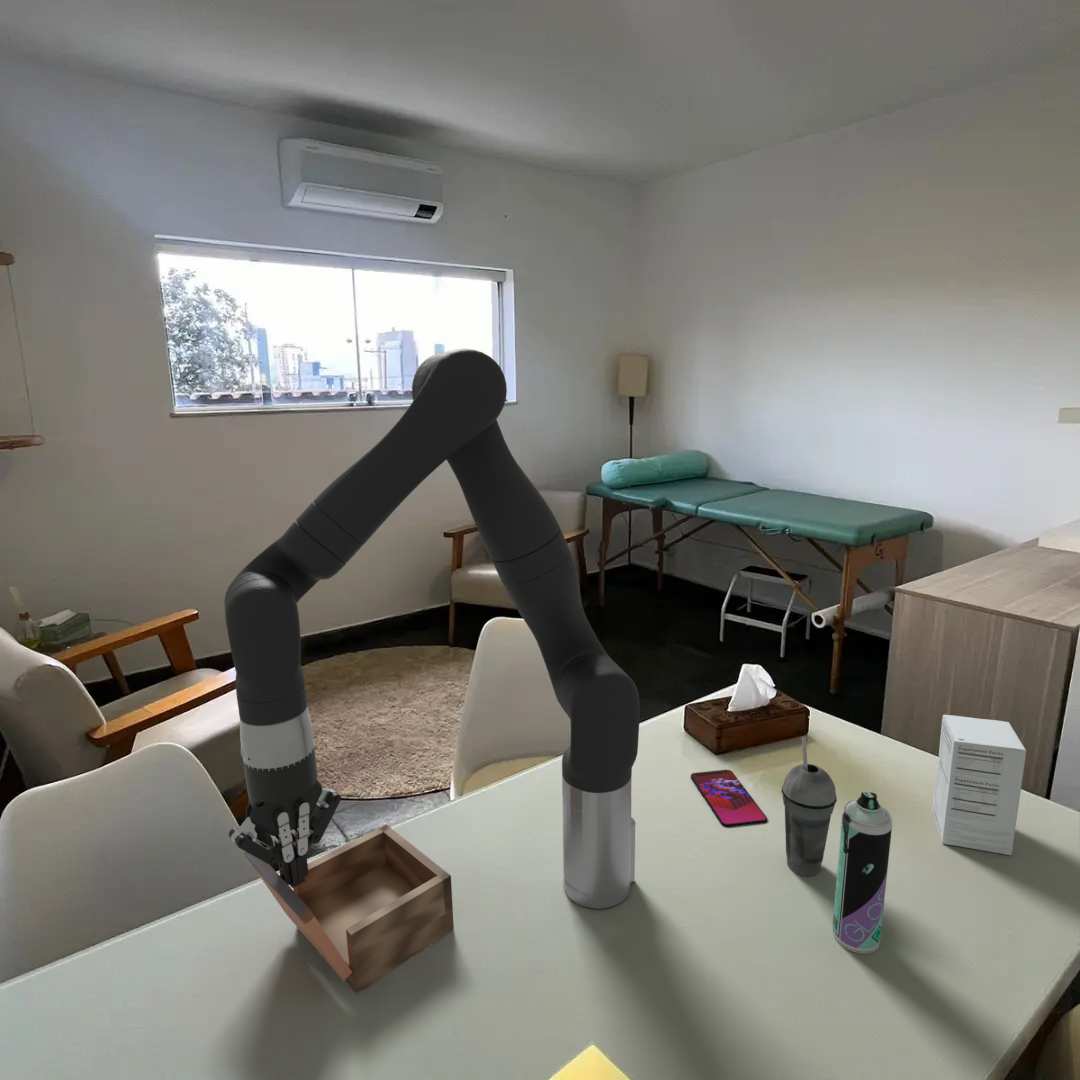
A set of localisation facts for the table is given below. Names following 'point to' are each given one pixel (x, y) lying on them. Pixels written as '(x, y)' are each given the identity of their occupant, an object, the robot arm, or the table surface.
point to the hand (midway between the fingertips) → (295, 881)
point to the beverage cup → (807, 815)
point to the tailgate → (300, 915)
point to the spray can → (862, 874)
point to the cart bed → (378, 902)
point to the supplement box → (978, 783)
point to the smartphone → (728, 798)
